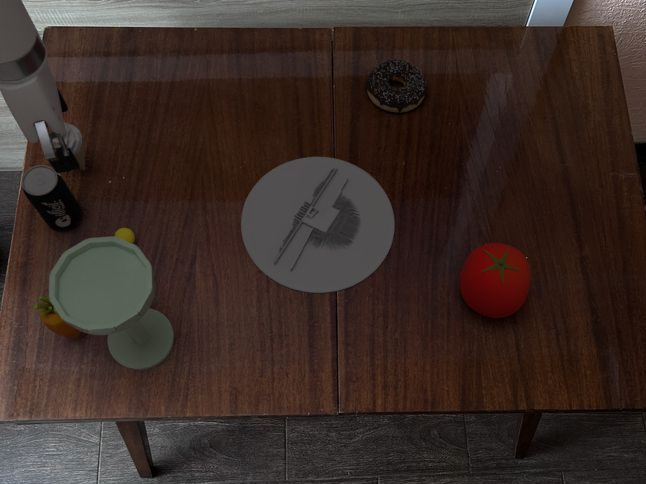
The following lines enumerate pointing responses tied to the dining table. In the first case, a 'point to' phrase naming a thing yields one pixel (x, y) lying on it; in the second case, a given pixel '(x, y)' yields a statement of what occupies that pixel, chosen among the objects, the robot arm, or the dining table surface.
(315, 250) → the plate
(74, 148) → the ice cream cone
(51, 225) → the beverage can
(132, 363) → the stand
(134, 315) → the platter
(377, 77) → the donut
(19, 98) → the robot arm
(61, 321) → the carrot
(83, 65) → the dining table surface
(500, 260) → the tomato
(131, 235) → the light bulb
